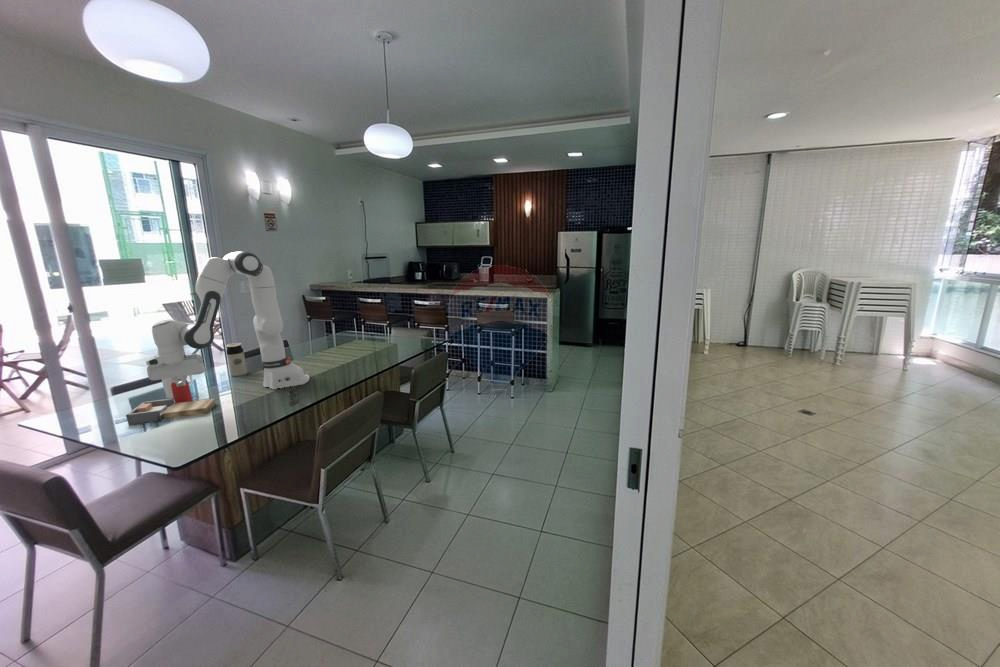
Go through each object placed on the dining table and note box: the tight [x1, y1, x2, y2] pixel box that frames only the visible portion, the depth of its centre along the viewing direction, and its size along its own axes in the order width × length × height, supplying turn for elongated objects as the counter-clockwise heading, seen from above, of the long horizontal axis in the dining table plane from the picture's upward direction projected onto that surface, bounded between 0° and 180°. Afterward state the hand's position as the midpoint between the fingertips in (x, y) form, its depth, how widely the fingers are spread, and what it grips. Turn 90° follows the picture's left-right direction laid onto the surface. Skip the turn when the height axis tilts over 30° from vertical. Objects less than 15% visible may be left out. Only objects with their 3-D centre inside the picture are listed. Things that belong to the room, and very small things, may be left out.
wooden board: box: [162, 398, 217, 420], centre depth 175 cm, size 16×11×3 cm
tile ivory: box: [149, 405, 167, 413], centre depth 172 cm, size 5×5×3 cm
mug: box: [161, 375, 193, 400], centre depth 193 cm, size 12×9×11 cm
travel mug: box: [225, 342, 248, 377], centre depth 221 cm, size 8×8×18 cm
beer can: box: [171, 378, 194, 403], centre depth 183 cm, size 7×7×12 cm
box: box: [125, 398, 175, 427], centre depth 171 cm, size 11×14×5 cm
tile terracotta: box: [137, 403, 153, 413], centre depth 170 cm, size 5×5×3 cm
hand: (181, 385), depth 172 cm, fingers closed
